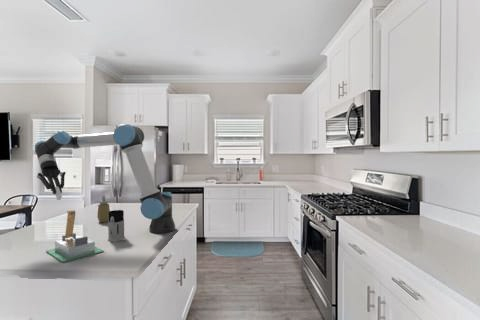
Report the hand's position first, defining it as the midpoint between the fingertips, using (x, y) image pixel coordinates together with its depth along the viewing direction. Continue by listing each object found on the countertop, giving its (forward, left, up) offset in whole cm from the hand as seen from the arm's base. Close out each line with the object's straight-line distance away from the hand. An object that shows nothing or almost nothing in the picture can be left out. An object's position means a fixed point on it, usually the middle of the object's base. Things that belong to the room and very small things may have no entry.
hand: (59, 198), depth 139 cm
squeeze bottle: (+11, -50, -24) cm, 56 cm away
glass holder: (-23, -12, -24) cm, 35 cm away
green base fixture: (-15, +7, -24) cm, 29 cm away
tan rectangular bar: (-11, +5, -12) cm, 17 cm away
